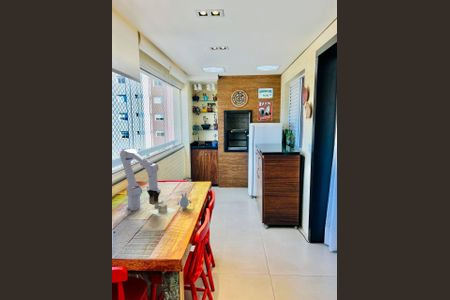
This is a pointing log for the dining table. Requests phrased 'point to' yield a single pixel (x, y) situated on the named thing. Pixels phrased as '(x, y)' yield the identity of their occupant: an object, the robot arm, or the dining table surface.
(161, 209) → the maple block
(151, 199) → the walnut block
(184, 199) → the toy figure
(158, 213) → the station board
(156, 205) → the grey block
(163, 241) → the dining table surface
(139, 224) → the dining table surface
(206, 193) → the dining table surface
